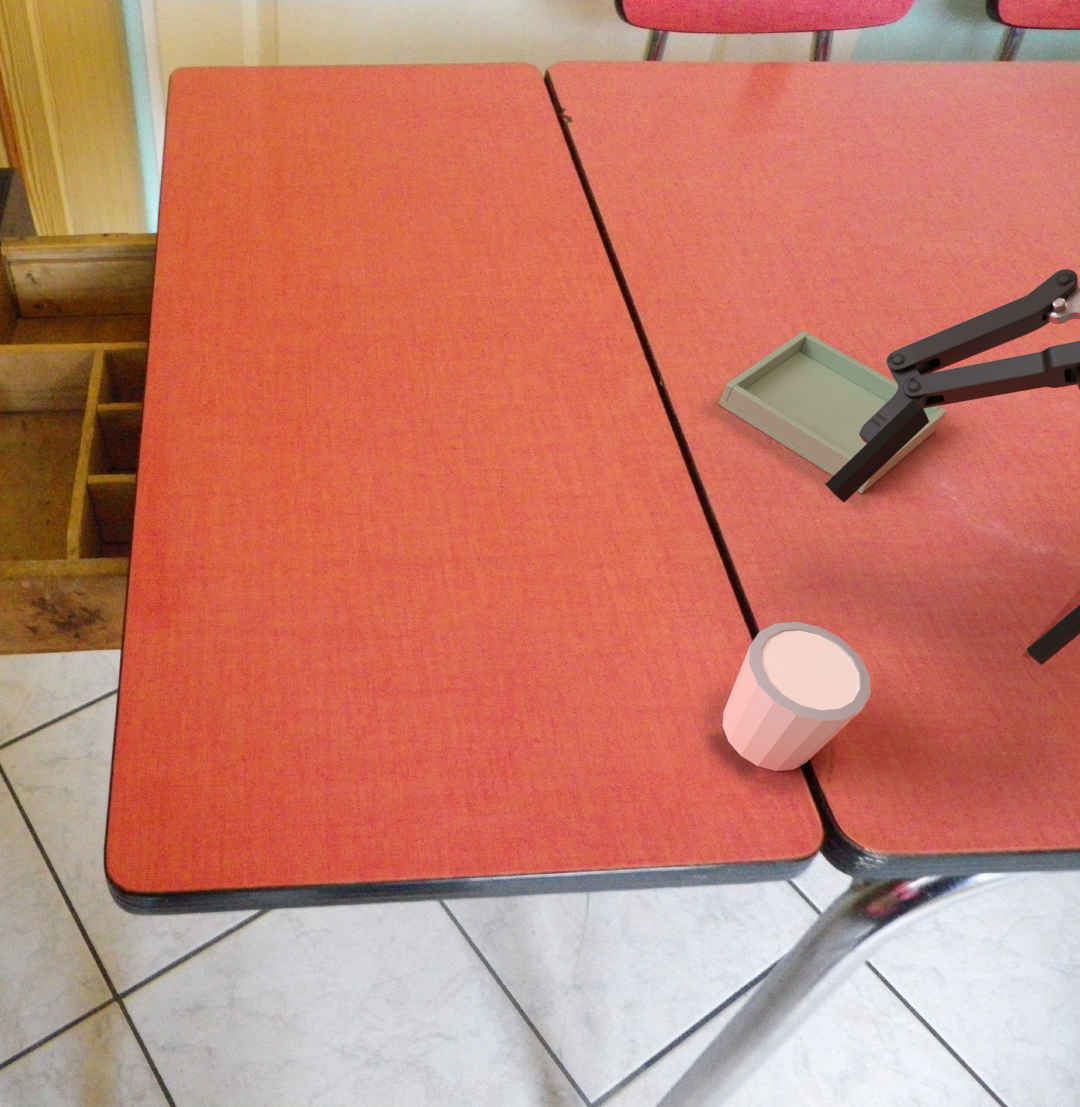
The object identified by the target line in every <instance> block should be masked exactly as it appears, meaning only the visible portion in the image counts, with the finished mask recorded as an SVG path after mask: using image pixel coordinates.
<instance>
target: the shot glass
mask: <svg viewBox="0 0 1080 1107" xmlns="http://www.w3.org/2000/svg"><path fill="white" fill-rule="evenodd" d="M871 687H872V684H871V673H869V670H868V668H867V667H866V664H865V663H864V661H863V659H862V656H860V654H859V653H858V652H857V651H856V650H855V649H853V647H852V646H850V645H849V644H848V643H847V642H846V641H845V640H844V639H843V638H841V637H840V636H838V635H836V634H834V633H832V632H830V631H829V630H827V629H824V628H823V627H821V626H817V625H812V624H808V623H804V622H800V621H791V622H775V623H774V624H772V625H770V626H768V627H765V628H764V629H761V630H759V632H758V633H757V634H756V636H755V637H754V639H753V640H752V642H751V643H750V645H749V647H748V649H747V652H746V655H745V657H744V660H743V662H742V664H741V666H740V670H739V672H738V675H737V677H736V680H735V682H734V685H733V686H732V690H731V692H730V695H729V697H728V699H727V702H726V704H725V708H724V710H723V712H722V729H723V732H724V734H725V736H726V739H727V742H728V744H730V745H731V747H732V748H733V749H734V751H736V753H737V754H738V755H739V756H740V757H741V758H743V759H745V760H746V761H748V762H750V763H752V765H755V766H756V767H759V768H763V769H767V770H771V771H774V772H783V771H794V770H795V769H798V768H799V767H801V766H802V765H804V764H806V763H808V761H809V760H811V759H812V758H813V757H814V756H815V755H816V754H817V753H818V752H820V750H822V749H823V747H825V745H827V744H828V743H829V742H830V741H831V740H832V739H833V738H834V737H835V736H836V735H837V734H838V733H839V732H840V731H842V730H843V729H844V728H845V727H846V726H847V725H848V724H849V723H850V722H851V721H852V720H853V719H854V718H856V716H857V715H859V714H860V713H861V712H862V711H863V709H864V708H865V706H866V704H867V702H868V701H869V699H870V697H871V695H872V688H871Z"/></svg>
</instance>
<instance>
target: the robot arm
mask: <svg viewBox="0 0 1080 1107" xmlns="http://www.w3.org/2000/svg"><path fill="white" fill-rule="evenodd" d="M1073 320H1080V284H1079V279H1078V274H1077V273H1076V271H1074V270H1072V269H1066V268H1064V269H1061V270H1058V271H1056V272H1054V273H1053V274H1052V275H1051V276H1050V277H1048V278H1047V279H1046V280H1044V281H1043V282H1042V283H1041V284H1039V285H1038V286H1037V287H1036V288H1034V289H1033V290H1032V291H1031V292H1029V293H1028V294H1026V295H1024V296H1021V297H1020V298H1017V299H1015V300H1012V301H1009V302H1007V303H1006V304H1004V305H1000V306H999V307H996V308H994V309H991V310H989V311H987V312H984V313H982V314H980V315H977V316H975V317H972V318H970V319H968V320H965V321H963V322H961V323H958V324H956V325H953V326H951V327H948V328H946V329H944V330H941V331H939V332H936V333H934V334H932V335H929V336H927V337H925V338H922V339H920V340H917V341H915V342H912V343H910V344H908V345H905V346H903V347H901V348H898V349H896V350H894V351H892V352H890V353H889V355H888V356H887V357H886V365H887V368H888V369H889V371H890V374H891V375H892V378H893V379H894V381H895V382H897V384H898V390H897V392H896V394H895V395H894V396H893V397H892V398H891V399H890V400H889V401H888V402H887V403H886V404H885V405H884V406H883V407H882V408H881V409H880V410H879V411H878V412H877V413H876V414H875V415H874V416H872V417H871V419H869V420H868V421H867V422H866V423H865V424H864V425H863V426H862V429H861V431H860V433H859V435H860V437H861V438H862V440H863V441H864V442H865V443H867V444H866V445H865V446H864V447H863V448H862V449H861V450H860V451H859V452H858V453H857V454H856V455H855V456H854V457H853V458H852V459H851V460H850V461H848V462H847V463H846V464H845V465H844V466H843V467H842V468H841V469H840V470H839V471H838V472H837V473H836V474H835V475H834V476H832V477H831V478H830V479H829V480H828V481H826V482H825V483H824V484H825V486H826V487H827V488H828V489H829V491H830V492H831V493H832V494H833V495H834V496H835V497H836V498H838V499H839V500H840V501H841V502H843V503H846V502H847V501H848V500H849V499H850V498H851V497H852V496H853V495H854V494H856V492H858V491H857V490H858V489H859V488H860V487H861V486H862V485H863V484H864V483H865V482H867V481H868V480H869V479H870V478H871V477H872V476H873V475H874V474H875V473H876V472H877V471H878V470H879V469H880V468H881V467H882V466H883V465H885V464H886V463H887V462H888V461H889V460H890V459H891V458H892V457H893V456H894V455H895V454H896V453H897V452H898V451H899V450H900V449H901V448H902V447H904V446H905V445H906V444H907V443H908V442H909V441H910V440H911V439H912V438H913V437H914V436H915V435H916V434H917V433H918V432H919V431H920V430H921V429H923V428H924V427H925V426H926V425H927V424H928V423H929V420H928V417H927V415H926V413H925V411H924V409H923V408H929V407H935V406H940V407H941V406H946V405H950V404H957V403H963V402H968V401H975V400H980V399H985V398H991V397H997V396H1003V395H1008V394H1015V393H1018V392H1019V393H1020V392H1025V391H1031V390H1036V389H1043V388H1050V389H1058V388H1065V387H1071V386H1076V385H1077V388H1078V390H1079V391H1080V340H1078V341H1073V342H1067V343H1062V344H1056V345H1052V346H1049V347H1047V348H1045V349H1044V350H1042V351H1039V352H1034V353H1033V352H1032V353H1028V354H1022V355H1018V356H1017V355H1016V356H1012V357H1006V358H1002V359H997V360H992V361H986V362H981V363H975V364H970V365H965V366H959V367H954V368H950V369H946V368H947V367H951V366H952V365H954V364H956V363H959V362H962V361H964V360H967V359H970V358H972V357H974V356H977V355H979V354H982V353H984V352H986V351H989V350H992V349H994V348H996V347H999V346H1001V345H1004V344H1006V343H1009V342H1012V341H1014V340H1017V339H1018V338H1022V337H1024V336H1026V335H1029V334H1031V333H1033V332H1036V331H1037V330H1039V329H1041V328H1043V327H1045V326H1047V325H1048V324H1050V323H1051V324H1053V325H1062V324H1065V323H1067V322H1069V321H1073ZM944 368H945V369H944ZM941 369H944V370H941ZM939 370H940V371H939ZM1078 636H1080V604H1078V605H1077V606H1076V607H1075V608H1073V610H1072V611H1070V612H1069V613H1068V614H1067V615H1065V616H1064V617H1063V618H1061V620H1059V621H1058V622H1057V623H1056V624H1054V625H1053V626H1052V627H1051V628H1050V629H1048V630H1047V631H1046V632H1045V633H1044V634H1043V635H1042V636H1040V637H1039V638H1038V639H1037V640H1035V641H1034V642H1033V643H1032V644H1030V645H1029V646H1028V647H1027V648H1026V652H1027V654H1028V655H1029V656H1030V657H1031V658H1032V659H1033V660H1034V661H1035V662H1037V663H1038V664H1039V665H1040V666H1043V665H1044V664H1046V662H1048V661H1049V660H1050V659H1051V658H1052V657H1054V656H1055V655H1056V654H1058V653H1059V652H1060V651H1062V649H1063V648H1065V647H1066V646H1067V645H1068V644H1070V643H1071V642H1072V641H1073V640H1075V639H1076V638H1077V637H1078Z"/></svg>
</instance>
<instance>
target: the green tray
mask: <svg viewBox="0 0 1080 1107" xmlns="http://www.w3.org/2000/svg"><path fill="white" fill-rule="evenodd" d="M897 390H898V384H897V382H896V380H893V379H892V378H889V377H888V376H886V375H884V374H882V373H881V372H879V371H877V370H875V369H874V368H871V367H870V366H868V365H866V364H864V363H863V362H861V361H859V360H857V359H856V358H853V357H852V356H850V355H848V354H846V353H845V352H843V351H842V350H839V349H838V348H836V347H834V346H832V345H831V344H829V343H827V342H825V341H823V340H822V339H820V338H818V337H816V336H814V335H813V334H810V333H809V332H807V331H805V330H802V331H801V332H799V333H798V334H797V335H795V336H794V337H793V338H791V339H789V340H788V341H787V342H785V343H784V344H782V345H781V346H779V347H778V348H776V349H775V350H773V351H772V352H771V353H769V354H767V355H766V356H765V357H764V358H762V359H760V360H759V361H758V362H756V363H755V364H753V365H751V367H749V368H747V369H746V370H745V371H743V372H741V373H740V374H739V375H738V376H735V377H734V378H733V379H731V380H730V381H728V382H727V383H726V384H725V387H724V390H723V392H722V394H721V396H720V399H719V402H718V405H719V406H720V407H722V408H723V409H725V410H727V411H728V412H731V414H733V415H735V416H737V417H738V418H740V420H741V419H742V420H743V421H745V422H746V423H748V424H749V425H751V426H752V427H754V428H756V429H757V430H759V431H760V432H762V433H763V434H765V435H766V436H768V437H770V438H771V439H773V440H774V441H776V442H778V443H780V444H781V445H783V446H784V447H786V448H787V449H789V450H791V451H792V452H794V453H795V454H797V455H798V456H800V457H802V458H803V459H804V460H806V461H808V462H810V463H811V464H813V465H814V466H816V467H818V468H819V469H821V470H822V471H824V472H826V473H827V474H829V475H830V476H832V477H833V476H834V475H835V474H836V473H837V472H838V471H839V470H840V469H841V468H842V467H843V466H844V465H845V464H846V463H847V462H848V461H850V460H851V459H852V458H853V457H854V456H855V455H856V454H857V453H858V452H859V451H860V450H861V449H862V448H863V447H864V446H865V445H866V444H867V443H865V442H864V441H863V440H862V438H861V437H860V435H859V433H860V431H861V429H862V426H863V425H864V424H865V423H866V422H867V421H868V420H869V419H871V417H872V416H874V415H875V414H876V413H877V412H878V411H879V410H880V409H881V408H882V407H883V406H884V405H885V404H886V403H887V402H888V401H889V400H890V399H891V398H892V397H893V396H894V395H895V394H896V392H897ZM923 409H924V411H925V413H926V415H927V417H928V420H929V423H928V424H927V425H926V426H925V427H924V428H923V429H921V430H920V431H919V432H918V433H917V434H916V435H915V436H914V437H913V438H912V439H911V440H910V441H909V442H908V443H907V444H906V445H905V446H904V447H902V448H901V449H900V450H899V451H898V452H897V453H896V454H895V455H894V456H893V457H892V458H891V459H890V460H889V461H888V462H887V463H886V464H885V465H883V466H882V467H881V468H880V469H879V470H878V471H877V472H876V473H875V474H874V475H873V476H872V477H871V478H870V479H869V480H868V481H867V482H865V483H864V484H863V485H862V486H861V487H860V488H859V489H858V490H857V491H856V492H858V493H859V494H864V492H865V491H867V489H869V488H870V487H871V486H872V485H874V484H875V483H876V482H877V481H878V480H879V479H881V478H882V477H883V476H884V475H885V474H886V473H888V472H889V471H890V470H891V469H893V467H895V466H896V465H897V464H899V463H900V462H901V460H903V459H904V458H905V457H906V456H907V455H909V454H910V453H911V452H912V451H913V450H915V449H916V448H917V447H918V446H919V445H920V444H921V443H923V442H924V441H925V440H926V439H927V438H929V437H930V436H931V435H932V434H933V433H934V432H936V430H937V429H938V427H939V425H940V423H941V422H942V420H943V419H944V418H945V416H946V414H947V413H948V410H947V409H945V408H943V407H941V405H940V406H935V407H929V408H923Z"/></svg>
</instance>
